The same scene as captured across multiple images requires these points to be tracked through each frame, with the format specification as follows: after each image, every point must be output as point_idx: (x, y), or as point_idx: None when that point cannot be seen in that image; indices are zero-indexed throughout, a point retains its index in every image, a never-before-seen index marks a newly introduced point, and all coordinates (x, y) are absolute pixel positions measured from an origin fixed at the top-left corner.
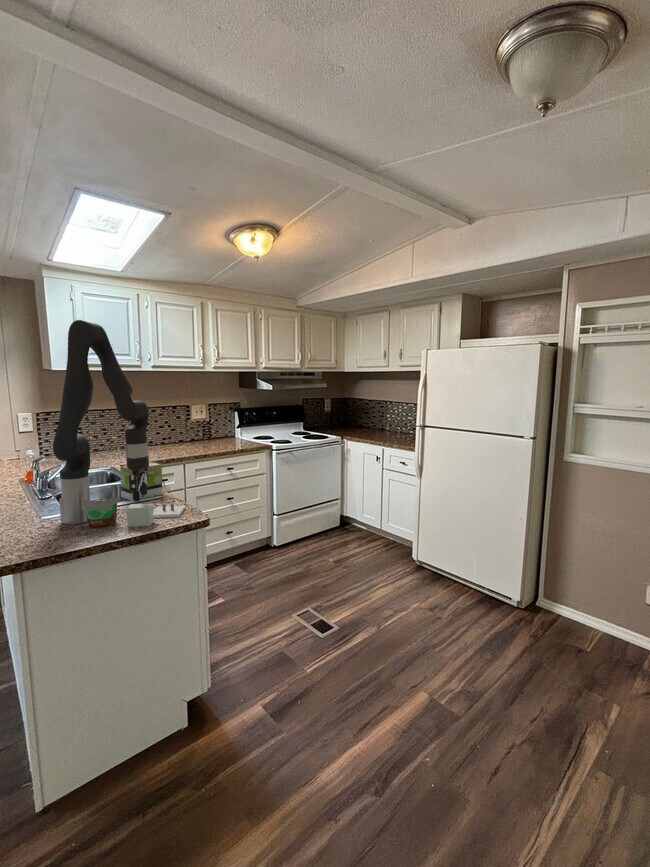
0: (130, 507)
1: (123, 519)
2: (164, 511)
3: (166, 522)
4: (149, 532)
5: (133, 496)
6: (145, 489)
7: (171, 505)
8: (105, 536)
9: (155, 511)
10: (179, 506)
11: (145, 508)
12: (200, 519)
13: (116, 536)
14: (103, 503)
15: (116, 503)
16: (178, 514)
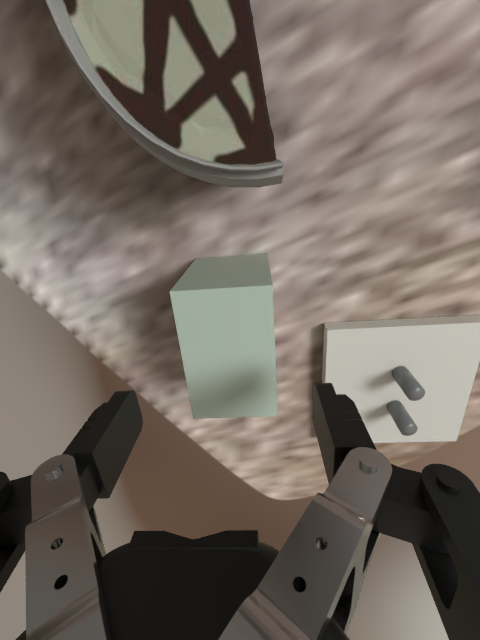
0: (190, 312)
1: (316, 181)
2: (376, 379)
3: None
4: (135, 377)
5: (80, 430)
6: (323, 450)
7: (398, 424)
8: (54, 205)
9: (386, 338)
10: (447, 422)
11: (191, 397)
12: (282, 497)
13: (66, 261)
14: (92, 88)
15: (220, 184)
16: None
